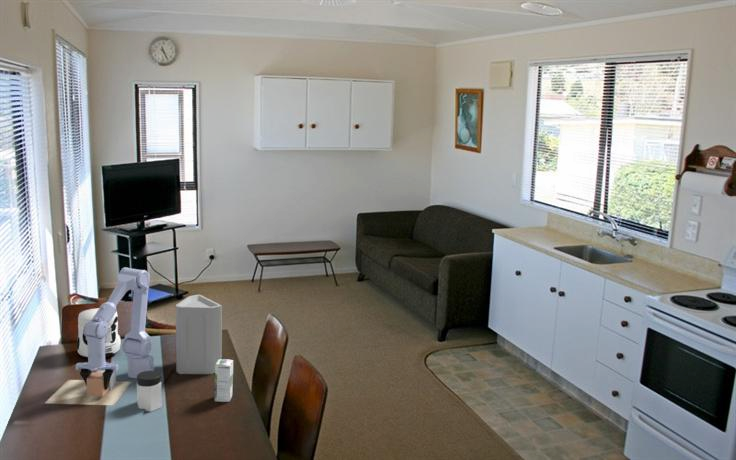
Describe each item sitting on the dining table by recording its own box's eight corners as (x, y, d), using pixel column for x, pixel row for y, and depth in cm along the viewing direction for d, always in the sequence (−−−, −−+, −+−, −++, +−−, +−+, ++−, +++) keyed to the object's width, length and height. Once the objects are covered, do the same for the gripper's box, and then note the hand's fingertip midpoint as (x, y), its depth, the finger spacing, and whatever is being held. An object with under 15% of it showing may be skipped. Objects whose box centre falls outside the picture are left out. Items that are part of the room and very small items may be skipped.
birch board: (131, 384, 253) (131, 381, 253) (113, 407, 234) (113, 405, 233) (68, 382, 252) (68, 379, 252) (44, 405, 233) (44, 403, 232)
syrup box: (217, 395, 247) (217, 358, 245) (233, 395, 248) (233, 359, 245) (214, 401, 242) (214, 364, 239) (230, 402, 242) (230, 365, 239)
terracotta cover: (108, 389, 243) (108, 372, 241) (102, 396, 237) (102, 379, 236) (93, 388, 242) (92, 372, 241) (87, 395, 237) (86, 378, 236)
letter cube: (105, 393, 242) (105, 383, 241) (101, 398, 238) (101, 387, 237) (94, 393, 242) (94, 382, 241) (90, 398, 238) (89, 387, 237)
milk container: (91, 344, 290) (89, 305, 287) (128, 348, 288) (127, 309, 285) (68, 359, 273) (66, 318, 270) (107, 363, 271) (106, 321, 268)
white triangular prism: (166, 365, 272) (166, 300, 267) (199, 357, 282) (199, 294, 277) (188, 380, 259) (188, 312, 253) (222, 371, 269) (222, 305, 263)
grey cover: (116, 383, 251) (115, 367, 249) (110, 390, 245) (110, 373, 244) (101, 383, 250) (100, 367, 249) (95, 389, 245) (95, 373, 244)
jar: (163, 409, 234) (162, 378, 232) (139, 413, 230) (138, 381, 228) (159, 399, 242) (158, 368, 239) (135, 402, 238) (135, 371, 236)
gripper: (71, 356, 233) (73, 392, 235) (113, 357, 233) (114, 393, 236) (79, 349, 240) (80, 384, 242) (119, 350, 240) (120, 385, 243)
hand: (97, 388), depth 239 cm, fingers closed on terracotta cover, 6 cm apart
